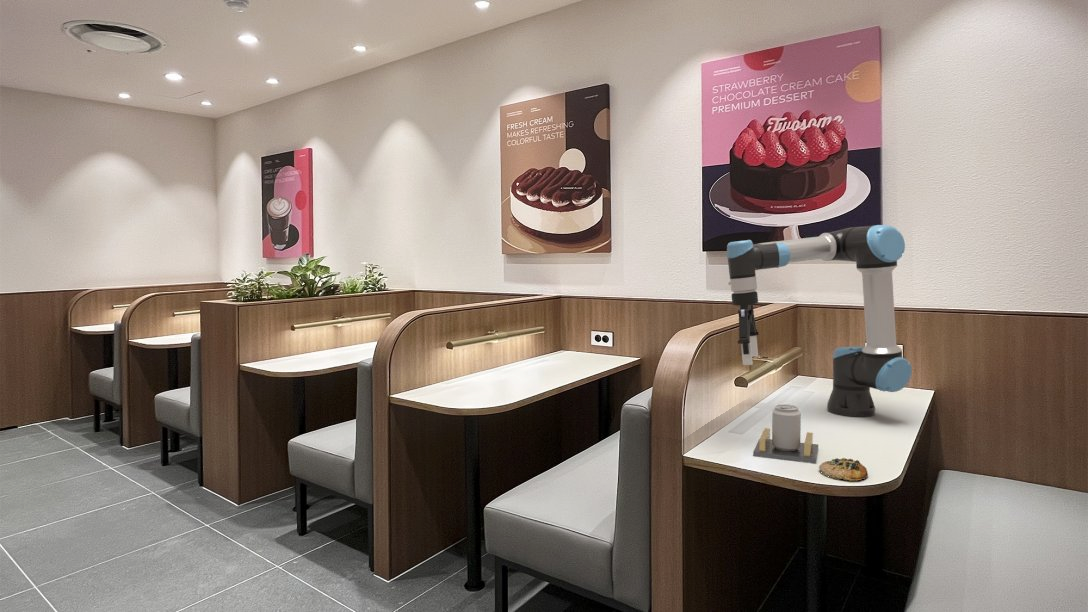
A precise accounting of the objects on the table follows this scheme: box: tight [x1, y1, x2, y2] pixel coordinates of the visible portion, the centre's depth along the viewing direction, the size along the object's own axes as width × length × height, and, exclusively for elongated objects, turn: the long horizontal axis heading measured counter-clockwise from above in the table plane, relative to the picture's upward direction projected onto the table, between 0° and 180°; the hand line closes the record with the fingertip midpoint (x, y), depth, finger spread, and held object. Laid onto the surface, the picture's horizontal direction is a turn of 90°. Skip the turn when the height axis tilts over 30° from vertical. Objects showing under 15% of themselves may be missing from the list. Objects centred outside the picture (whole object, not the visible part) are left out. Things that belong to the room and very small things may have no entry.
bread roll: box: [818, 457, 869, 482], centre depth 156 cm, size 11×11×5 cm
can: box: [771, 404, 802, 451], centre depth 174 cm, size 8×8×12 cm
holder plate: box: [752, 427, 819, 464], centre depth 174 cm, size 16×14×5 cm
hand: (750, 360), depth 188 cm, fingers open, 13 cm apart
